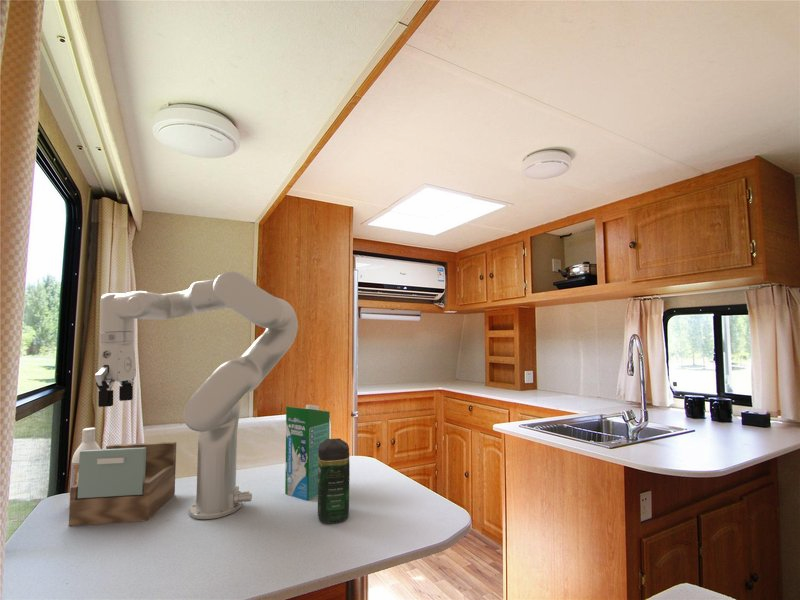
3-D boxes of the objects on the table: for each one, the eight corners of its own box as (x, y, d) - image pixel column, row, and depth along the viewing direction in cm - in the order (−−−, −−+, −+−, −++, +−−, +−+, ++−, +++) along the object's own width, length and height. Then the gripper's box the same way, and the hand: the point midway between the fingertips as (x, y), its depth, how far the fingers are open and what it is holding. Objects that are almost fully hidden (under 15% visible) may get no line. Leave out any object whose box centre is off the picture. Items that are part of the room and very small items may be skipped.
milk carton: (329, 489, 119) (329, 403, 121) (307, 500, 111) (308, 408, 113) (307, 484, 124) (308, 401, 126) (284, 494, 116) (285, 405, 118)
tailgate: (144, 492, 102) (146, 447, 103) (140, 495, 100) (142, 449, 101) (80, 496, 100) (82, 450, 101) (75, 499, 98) (78, 452, 99)
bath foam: (67, 509, 108) (71, 432, 109) (70, 500, 113) (74, 428, 115) (99, 503, 111) (103, 429, 113) (101, 495, 117) (104, 424, 119)
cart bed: (174, 495, 116) (176, 441, 118) (147, 520, 101) (150, 458, 102) (106, 499, 114) (109, 444, 115) (68, 525, 98) (71, 462, 99)
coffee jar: (351, 522, 98) (351, 444, 100) (318, 526, 96) (318, 447, 98) (347, 506, 107) (347, 435, 109) (317, 509, 106) (317, 437, 107)
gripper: (114, 338, 101) (113, 407, 100) (147, 338, 118) (146, 397, 117) (81, 340, 100) (80, 410, 99) (119, 339, 117) (118, 399, 116)
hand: (116, 403), depth 108 cm, fingers open, 9 cm apart
